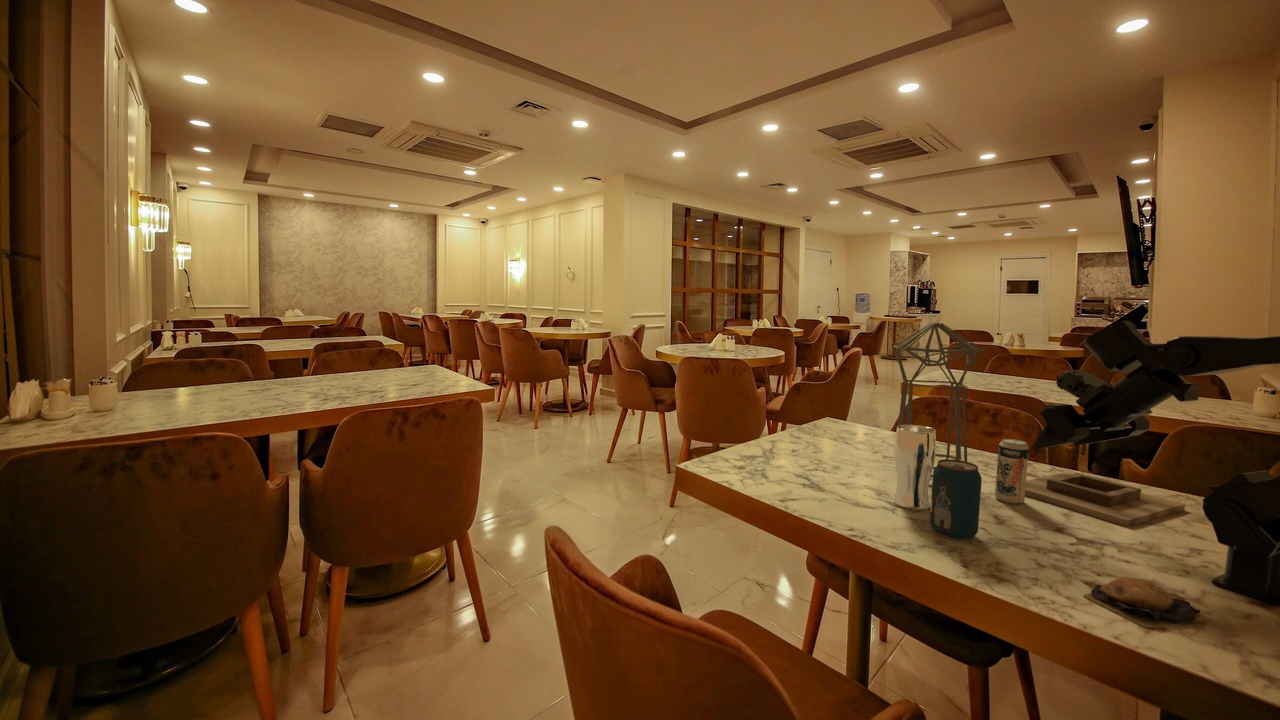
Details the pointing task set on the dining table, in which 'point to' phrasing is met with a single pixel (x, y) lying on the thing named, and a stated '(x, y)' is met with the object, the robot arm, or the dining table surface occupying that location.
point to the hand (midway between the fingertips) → (1055, 444)
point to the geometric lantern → (967, 349)
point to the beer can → (1011, 471)
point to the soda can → (955, 499)
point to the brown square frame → (1101, 498)
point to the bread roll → (1142, 603)
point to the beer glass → (914, 465)
